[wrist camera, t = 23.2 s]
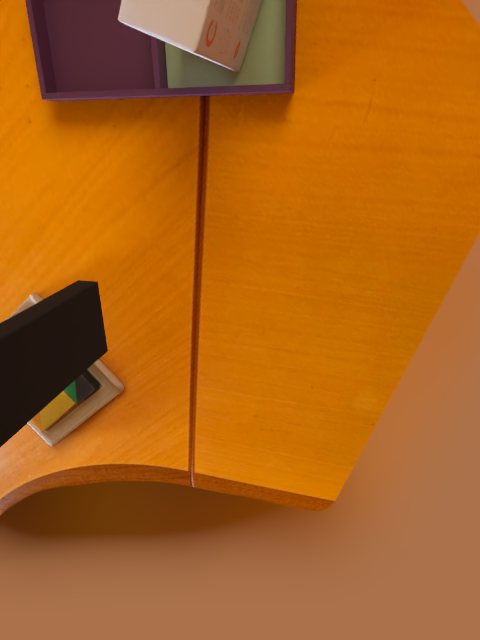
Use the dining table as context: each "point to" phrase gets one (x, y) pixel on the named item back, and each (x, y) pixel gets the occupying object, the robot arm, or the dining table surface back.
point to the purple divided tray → (150, 55)
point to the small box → (197, 25)
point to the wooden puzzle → (73, 397)
